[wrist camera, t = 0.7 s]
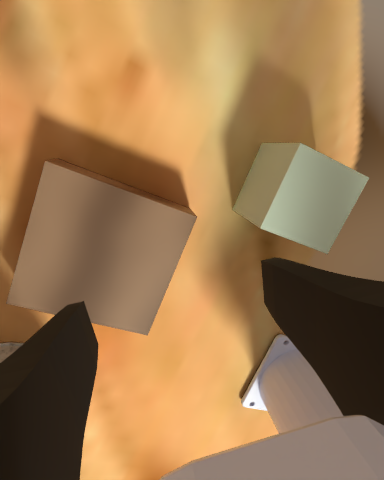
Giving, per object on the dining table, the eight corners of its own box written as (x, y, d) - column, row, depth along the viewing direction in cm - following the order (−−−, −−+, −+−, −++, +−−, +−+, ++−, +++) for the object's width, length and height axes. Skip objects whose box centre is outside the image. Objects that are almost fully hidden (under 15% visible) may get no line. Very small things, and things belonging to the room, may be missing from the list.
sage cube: (317, 170, 21) (369, 177, 17) (287, 231, 22) (327, 254, 18) (261, 142, 20) (300, 142, 15) (231, 209, 21) (260, 228, 16)
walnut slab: (189, 208, 20) (197, 216, 18) (146, 315, 22) (147, 335, 20) (57, 158, 18) (45, 160, 15) (21, 284, 20) (6, 303, 17)
